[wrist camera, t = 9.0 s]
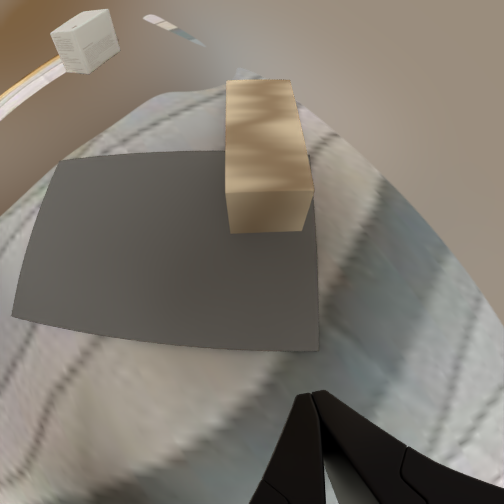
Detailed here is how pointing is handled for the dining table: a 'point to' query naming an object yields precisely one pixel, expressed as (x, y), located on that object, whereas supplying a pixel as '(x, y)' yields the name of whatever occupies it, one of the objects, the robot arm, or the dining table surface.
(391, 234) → the dining table surface
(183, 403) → the dining table surface
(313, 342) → the charcoal rubber mat
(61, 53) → the product box
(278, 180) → the birch block
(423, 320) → the dining table surface
